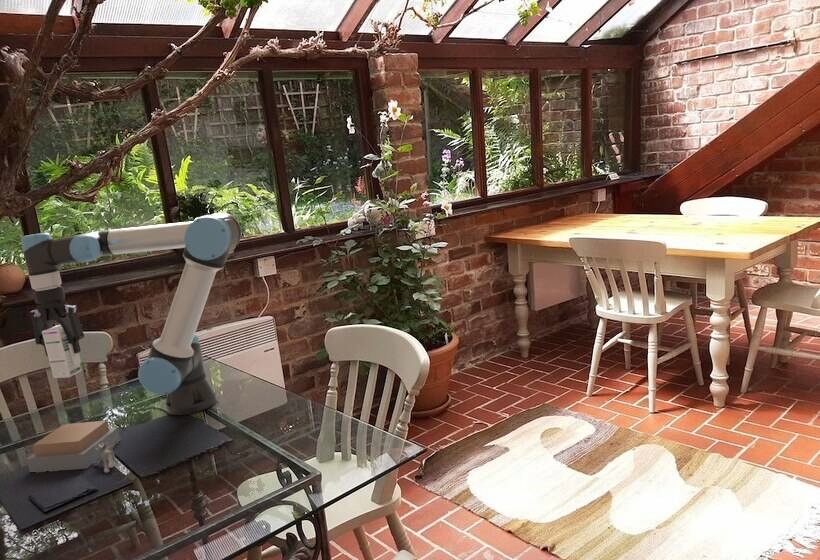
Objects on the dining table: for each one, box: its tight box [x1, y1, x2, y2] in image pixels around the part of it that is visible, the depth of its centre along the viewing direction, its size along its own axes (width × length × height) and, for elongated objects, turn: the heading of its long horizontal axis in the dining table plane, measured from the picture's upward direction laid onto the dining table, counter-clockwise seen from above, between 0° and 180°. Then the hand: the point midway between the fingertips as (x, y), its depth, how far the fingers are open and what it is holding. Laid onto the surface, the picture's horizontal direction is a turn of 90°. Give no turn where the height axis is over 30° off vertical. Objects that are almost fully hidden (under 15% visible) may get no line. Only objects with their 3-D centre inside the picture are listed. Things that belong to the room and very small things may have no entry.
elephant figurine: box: [93, 436, 121, 473], centre depth 161 cm, size 10×6×9 cm
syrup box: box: [42, 324, 84, 379], centre depth 181 cm, size 6×6×14 cm
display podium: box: [26, 420, 120, 473], centre depth 170 cm, size 16×16×7 cm
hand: (66, 364), depth 182 cm, fingers closed on syrup box, 6 cm apart
